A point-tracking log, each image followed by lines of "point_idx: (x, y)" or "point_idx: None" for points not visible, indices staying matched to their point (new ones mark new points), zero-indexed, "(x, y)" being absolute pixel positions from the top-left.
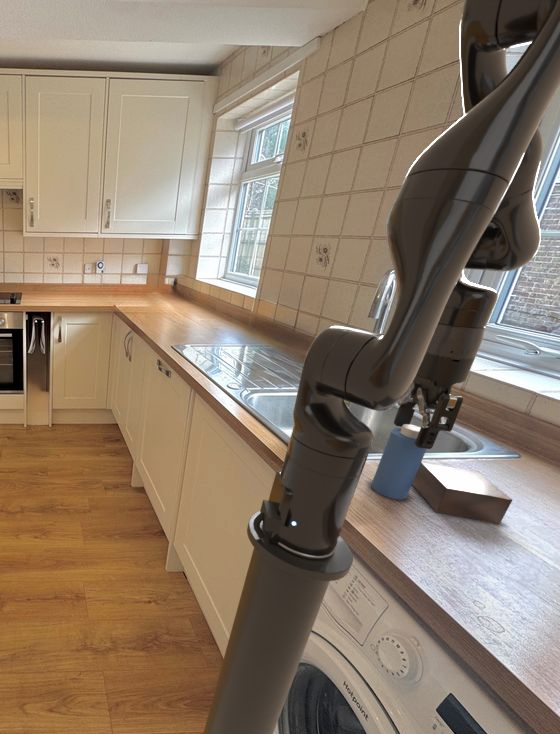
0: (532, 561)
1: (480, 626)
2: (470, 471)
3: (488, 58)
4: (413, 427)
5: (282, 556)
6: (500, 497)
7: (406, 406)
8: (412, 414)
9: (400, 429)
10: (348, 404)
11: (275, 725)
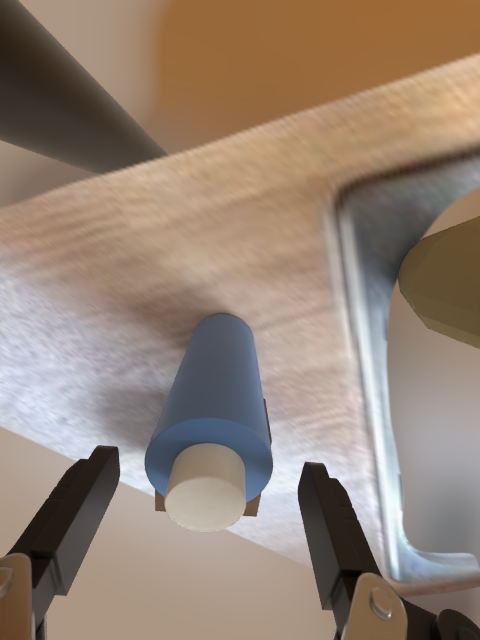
0: (79, 448)
1: None
2: (252, 504)
3: None
4: (207, 507)
5: None
6: (156, 499)
7: (343, 602)
8: (314, 567)
9: (259, 459)
10: None
11: None
